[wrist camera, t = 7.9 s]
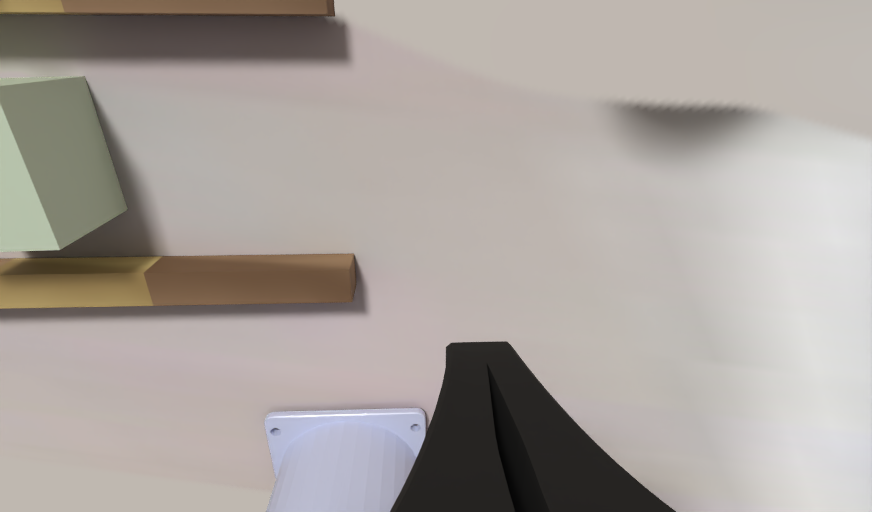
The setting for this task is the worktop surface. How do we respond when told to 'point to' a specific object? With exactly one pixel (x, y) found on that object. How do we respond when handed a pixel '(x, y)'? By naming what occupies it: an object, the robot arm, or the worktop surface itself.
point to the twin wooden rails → (175, 274)
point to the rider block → (52, 165)
